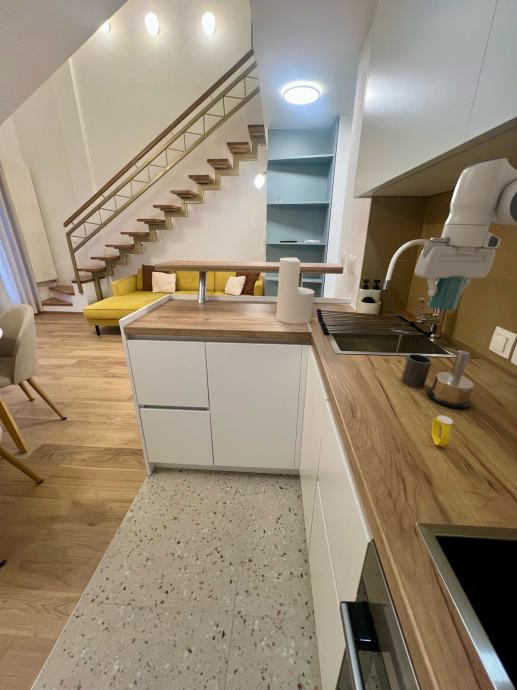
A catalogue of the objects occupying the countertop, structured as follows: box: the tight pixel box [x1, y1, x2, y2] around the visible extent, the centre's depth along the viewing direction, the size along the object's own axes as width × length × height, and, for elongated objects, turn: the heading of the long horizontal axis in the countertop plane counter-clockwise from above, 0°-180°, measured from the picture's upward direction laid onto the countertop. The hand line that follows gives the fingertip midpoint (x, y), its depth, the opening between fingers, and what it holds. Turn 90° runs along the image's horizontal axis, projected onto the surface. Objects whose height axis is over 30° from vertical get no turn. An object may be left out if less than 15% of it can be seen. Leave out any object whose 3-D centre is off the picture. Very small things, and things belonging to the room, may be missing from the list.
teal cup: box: [426, 277, 465, 311], centre depth 72 cm, size 6×6×8 cm
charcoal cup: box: [400, 353, 433, 389], centre depth 82 cm, size 6×6×8 cm
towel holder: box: [426, 349, 475, 411], centre depth 73 cm, size 10×10×14 cm
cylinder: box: [275, 257, 315, 325], centre depth 133 cm, size 17×17×28 cm
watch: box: [431, 414, 454, 447], centre depth 59 cm, size 6×3×6 cm, turn 163°
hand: (444, 295), depth 73 cm, fingers closed on teal cup, 6 cm apart
